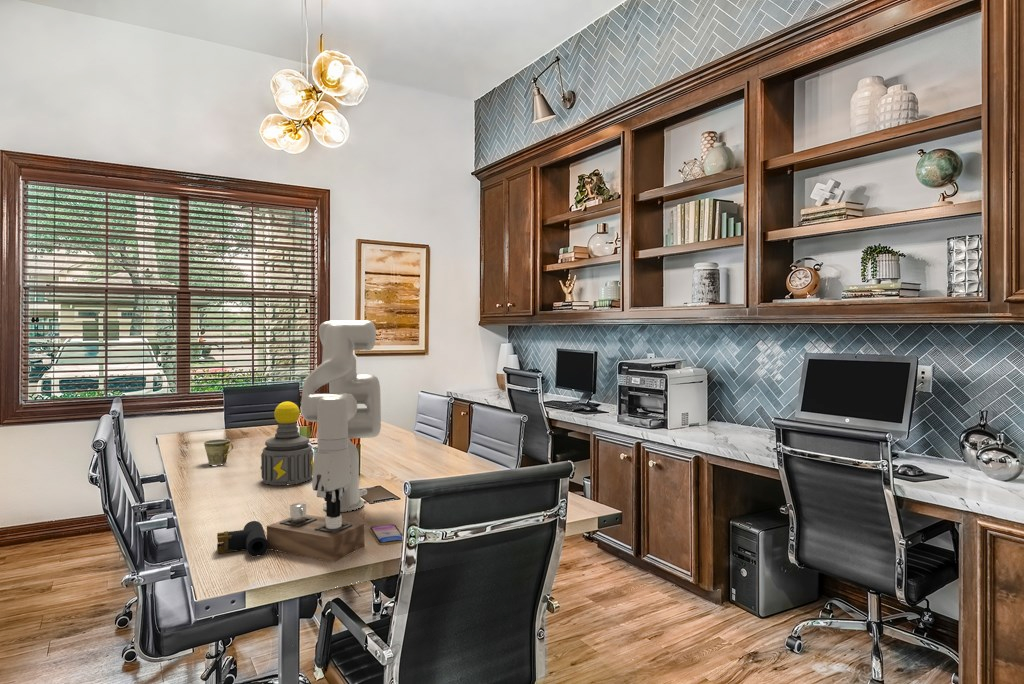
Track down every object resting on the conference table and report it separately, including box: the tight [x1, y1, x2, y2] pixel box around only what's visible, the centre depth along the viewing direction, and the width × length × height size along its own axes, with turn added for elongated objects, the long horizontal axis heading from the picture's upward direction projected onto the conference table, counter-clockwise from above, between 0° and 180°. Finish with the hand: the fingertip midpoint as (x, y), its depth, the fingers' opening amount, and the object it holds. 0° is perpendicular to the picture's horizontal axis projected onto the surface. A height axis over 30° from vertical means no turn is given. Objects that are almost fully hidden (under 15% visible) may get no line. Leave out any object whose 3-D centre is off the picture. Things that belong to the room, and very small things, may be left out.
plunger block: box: [266, 513, 365, 563], centre depth 160 cm, size 12×22×6 cm, turn 65°
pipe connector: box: [216, 520, 269, 557], centre depth 160 cm, size 12×5×15 cm
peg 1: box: [289, 502, 307, 525], centre depth 163 cm, size 4×4×6 cm
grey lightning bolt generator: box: [260, 401, 315, 486], centre depth 232 cm, size 19×19×30 cm
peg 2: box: [325, 513, 343, 531], centre depth 158 cm, size 4×4×6 cm
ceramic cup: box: [203, 438, 234, 466], centre depth 259 cm, size 13×10×10 cm
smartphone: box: [369, 524, 403, 546], centre depth 170 cm, size 8×15×1 cm, turn 23°
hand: (333, 515), depth 158 cm, fingers closed
